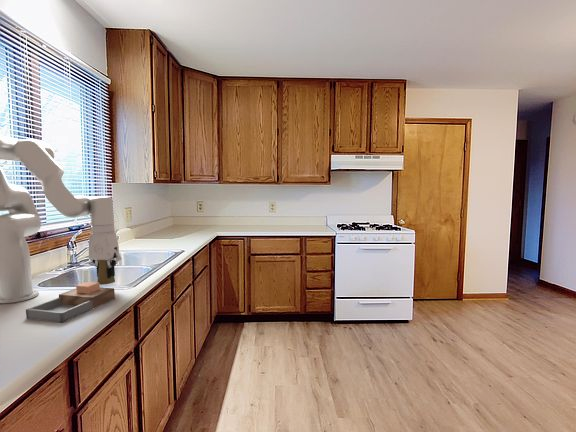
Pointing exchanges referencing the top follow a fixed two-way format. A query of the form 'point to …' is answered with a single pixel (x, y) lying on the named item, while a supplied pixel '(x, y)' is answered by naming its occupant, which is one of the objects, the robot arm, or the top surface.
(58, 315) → the box
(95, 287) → the tile
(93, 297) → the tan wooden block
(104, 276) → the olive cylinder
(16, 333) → the top surface
